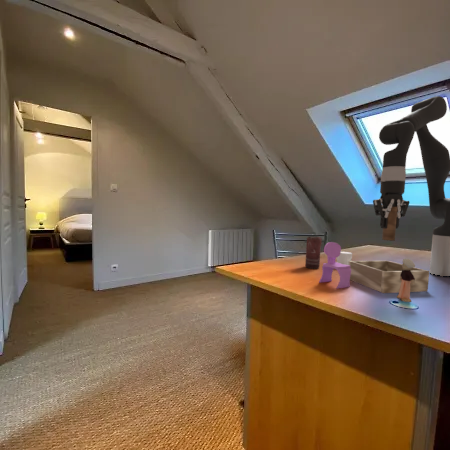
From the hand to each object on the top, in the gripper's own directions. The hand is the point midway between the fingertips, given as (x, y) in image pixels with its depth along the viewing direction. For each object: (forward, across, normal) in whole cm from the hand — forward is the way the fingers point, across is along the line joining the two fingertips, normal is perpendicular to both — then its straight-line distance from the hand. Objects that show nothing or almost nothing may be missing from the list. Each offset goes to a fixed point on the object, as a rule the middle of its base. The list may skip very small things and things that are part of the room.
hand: (389, 228), depth 103 cm
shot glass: (+21, -3, -29) cm, 36 cm away
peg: (+4, 0, 0) cm, 4 cm away
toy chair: (+21, +20, -2) cm, 29 cm away
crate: (+21, 0, 0) cm, 21 cm away
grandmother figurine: (+21, +8, +16) cm, 27 cm away
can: (+21, +13, -29) cm, 38 cm away
